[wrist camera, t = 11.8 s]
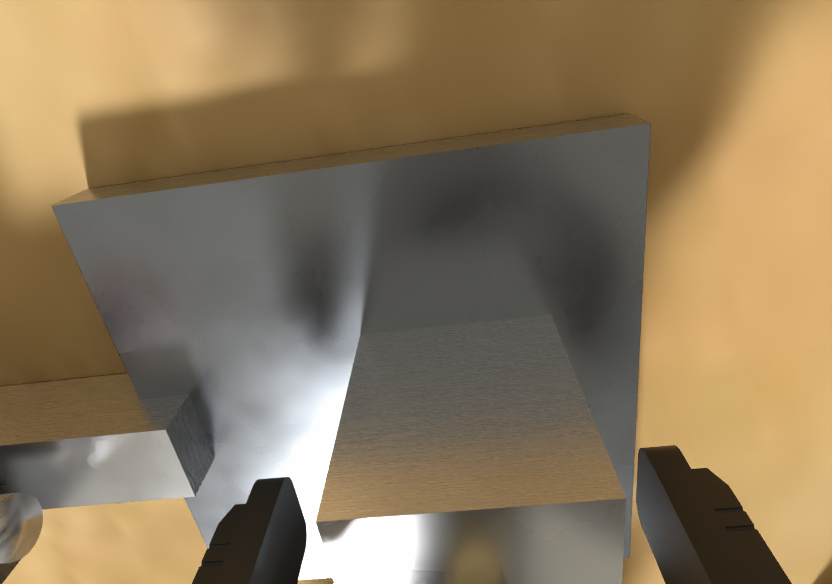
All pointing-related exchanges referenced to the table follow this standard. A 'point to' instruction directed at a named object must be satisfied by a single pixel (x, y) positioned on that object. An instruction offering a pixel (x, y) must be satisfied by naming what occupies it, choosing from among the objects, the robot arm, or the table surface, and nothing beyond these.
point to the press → (327, 307)
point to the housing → (470, 463)
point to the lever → (17, 528)
